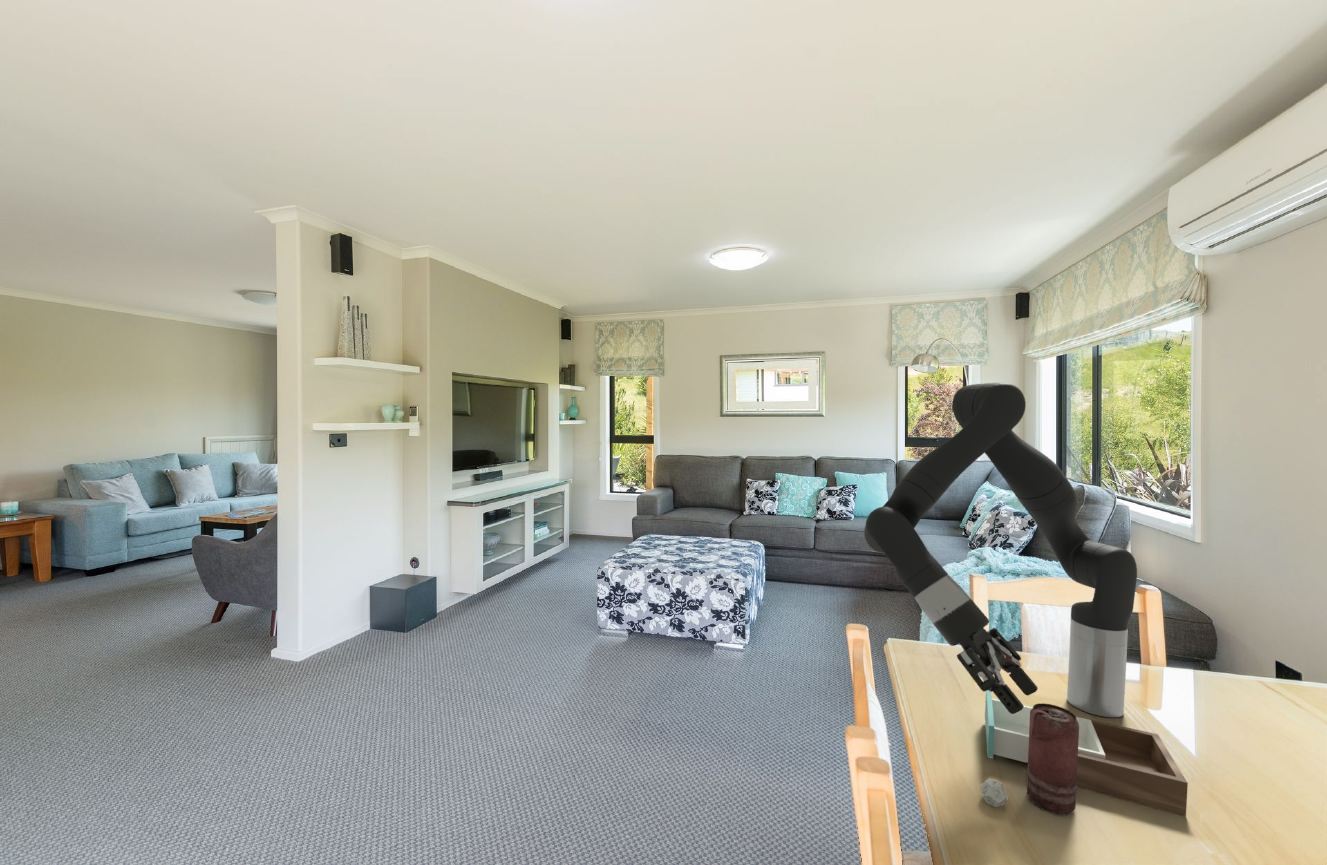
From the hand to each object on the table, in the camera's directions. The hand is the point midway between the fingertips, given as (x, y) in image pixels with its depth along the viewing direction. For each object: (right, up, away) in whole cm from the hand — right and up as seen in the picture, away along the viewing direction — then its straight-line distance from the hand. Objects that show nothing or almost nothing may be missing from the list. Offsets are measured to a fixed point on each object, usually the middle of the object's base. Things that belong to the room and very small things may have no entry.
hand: (1025, 701), depth 89 cm
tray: (+9, -13, +10) cm, 19 cm away
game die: (-6, -14, -2) cm, 16 cm away
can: (+2, -15, -2) cm, 15 cm away
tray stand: (+17, -14, +6) cm, 23 cm away
